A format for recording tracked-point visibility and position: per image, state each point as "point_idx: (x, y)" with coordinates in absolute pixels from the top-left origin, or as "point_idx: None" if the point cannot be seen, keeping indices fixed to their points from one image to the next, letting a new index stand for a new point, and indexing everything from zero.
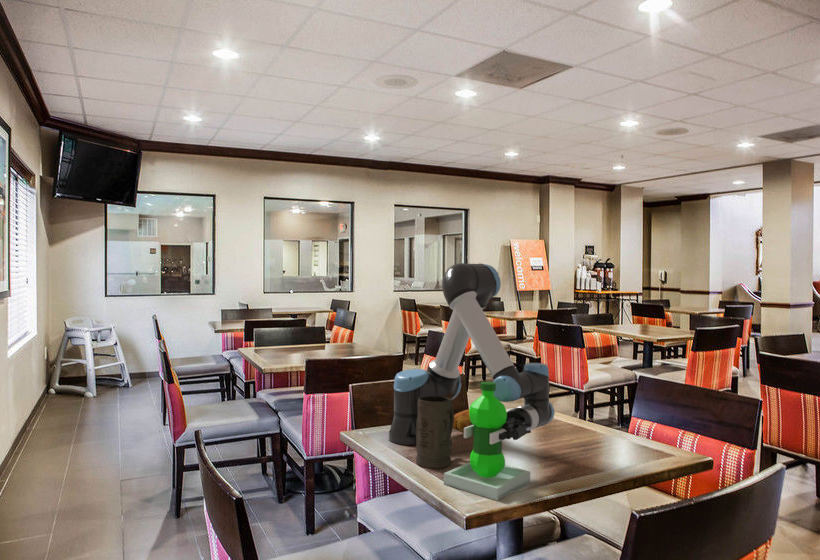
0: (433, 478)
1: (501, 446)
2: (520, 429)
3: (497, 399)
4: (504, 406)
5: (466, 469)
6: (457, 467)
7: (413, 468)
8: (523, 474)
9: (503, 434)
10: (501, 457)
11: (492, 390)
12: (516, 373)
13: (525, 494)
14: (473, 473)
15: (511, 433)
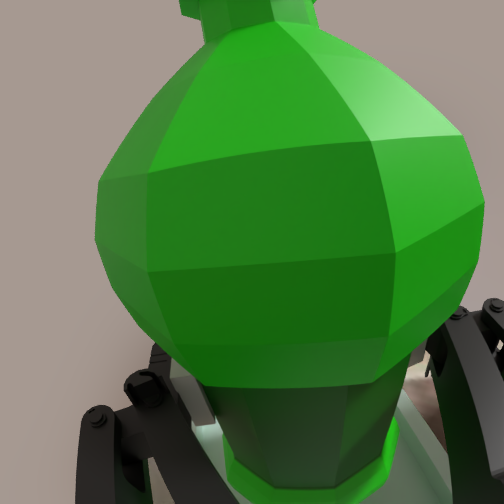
0: (422, 367)
1: (226, 438)
2: (78, 485)
3: (175, 75)
4: (115, 173)
5: (411, 439)
6: (409, 400)
7: (497, 346)
8: None
9: (153, 346)
10: (227, 452)
11: (184, 12)
12: None
13: (154, 500)
14: (392, 464)
15: (130, 413)
